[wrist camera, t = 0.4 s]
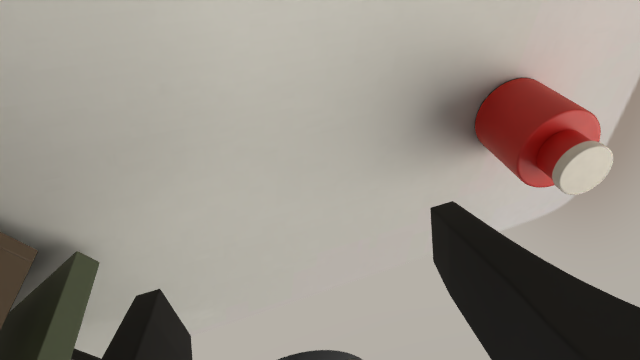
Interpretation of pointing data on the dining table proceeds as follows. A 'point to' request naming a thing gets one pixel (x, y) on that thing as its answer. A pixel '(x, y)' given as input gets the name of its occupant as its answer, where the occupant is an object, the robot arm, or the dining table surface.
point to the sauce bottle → (543, 137)
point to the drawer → (42, 305)
